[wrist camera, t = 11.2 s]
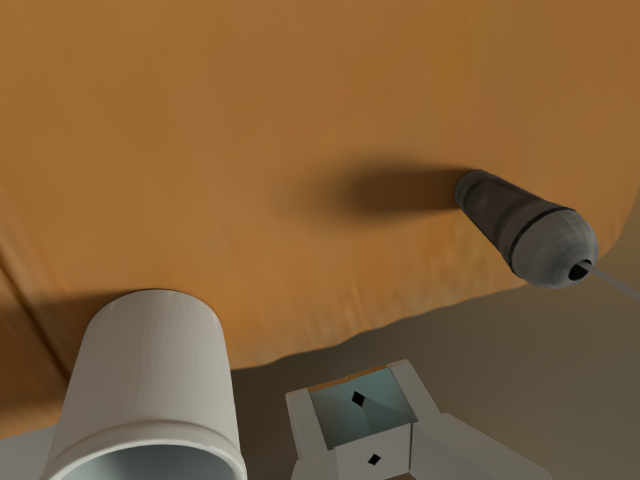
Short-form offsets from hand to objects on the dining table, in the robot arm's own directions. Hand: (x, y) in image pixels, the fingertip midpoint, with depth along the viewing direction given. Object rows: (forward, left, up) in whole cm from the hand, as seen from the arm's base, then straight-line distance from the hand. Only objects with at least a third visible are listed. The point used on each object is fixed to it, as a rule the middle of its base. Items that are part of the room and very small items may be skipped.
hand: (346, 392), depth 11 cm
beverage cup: (+24, -14, -31) cm, 42 cm away
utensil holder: (-12, -24, -31) cm, 41 cm away
